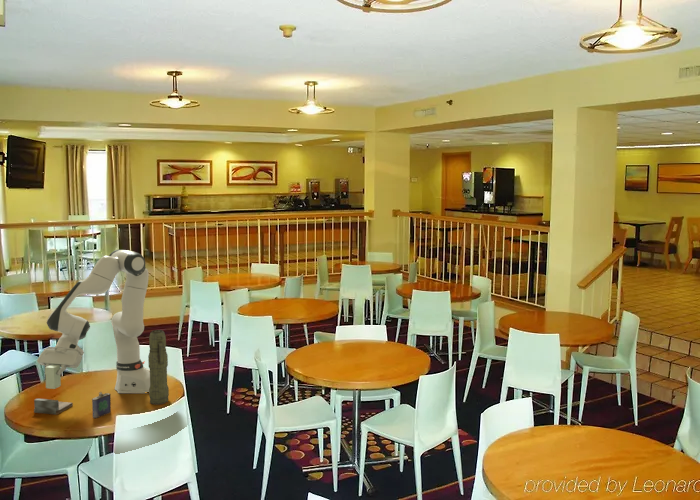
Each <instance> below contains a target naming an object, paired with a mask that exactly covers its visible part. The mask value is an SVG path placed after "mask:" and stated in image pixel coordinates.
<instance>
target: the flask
mask: <svg viewBox="0 0 700 500" xmlns="http://www.w3.org/2000/svg"><path fill="white" fill-rule="evenodd" d="M91 400H92V401H91V403H92V405H91V406H92V419H98V418H101V417H103V416H106V415H108V414H111V413H112V412H111V411H112V409H111V406H112V405H111V404H112V403H111V393H109V392H107V393H106V392H105V393H102V391H100V392H98V396H95V397H93V398H92V399H91Z"/></svg>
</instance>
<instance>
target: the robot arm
mask: <svg viewBox="0 0 700 500" xmlns="http://www.w3.org/2000/svg"><path fill="white" fill-rule="evenodd" d="M145 259H146V258H145V257H144V255H142V254H141V253H139V252H136V251H133V250H129V249H127V250H126V249H123V248H122V249H115V250H113V251H112V252H110V253H109V255H103V256H101V257H100V258H99V259H98V260H97V262H96V263H95V265H94V266H93V268H92V269H91V271H90V273H89V275H88V276H87V277H86V278H84V279H83V280H78V281H77V282H76V283H75V284H74V285H73V287H72V288H71V289H70V290H69V292H68V293H67V294H66V295H65V297H64V298H63V299H62V300H61V302H60V303H59V304H58V306H57V307H56V308H55V309H54V310H53V311H51V313H50V314H49V315H48V317H47V320H46V325H47V327H48V328H49V330H50V331H55V332H59V333H61V334H62V335H61V336H60V337H59V338H58V341H57V343H56V345H55V346H48V347H46V348H44V349H43V351H42V352H41V353H40V355H39V356H38V358H37V360H36V361H37V363H38V364H39V365H40V366H45V367H47V366H49V365H60V370H57V372H56V374H57V375H60V376H61V374H62V373H63V372H64V371H65V370H67V369H68V368H70V369H77V368H78V367H80V364H81V363H82V360H83V355H84V353H85V352H84V350H83V349H82V348H81V347H80V346H79V342H80V341H81V340H83V339H85V338H86V336H87V334H88V331H89V330H90V329H91V325H90V322H89V321H88V319H86V318H84V317H82V316H79V315H76V314H72V313H70V312H68V311H67V309H68V308H69V307H70V305H71V304H72V303H73V302H74V300H75V299H77V297H78V296H81V295H93V296H94V295H102V294H105V293H106V292H107V291H108V290H109V289H110V288H111V286H112V284H113V283H114V280H115V278H116V276H117V275H118V274H119V273H120V272H123V273H125V276H126V279H125V282H124V288H123V291H122V295H121V311H117V312H116V313H114V314H113V315H112V316H111V321H110V322H111V325H112V329H113V335H114V341H115V346H116V362H115V365H116V367H115V368H116V380H115V381H116V382H115V386H114V390H115V391H116V392H117V394H146V393H145V392H149V388H150V370H149V369H147V368H145V367H144V364H145V363H146V361H145V360H144V361H142V360H141V352H140V349H141V348H140V343H139V340H138V337H139V336H141V335H142V334H143V332H144V330H145V323H144V308H145V298H146V295H147V290H148V287H149V286H148V285H149V277H150V275H149V274H150V273H149V270H148V268H146V260H145Z"/></svg>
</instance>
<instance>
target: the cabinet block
mask: <svg viewBox="0 0 700 500" xmlns="http://www.w3.org/2000/svg"><path fill="white" fill-rule="evenodd" d="M44 369H45V370H44V374H45V388H46V389H48V390H49V389H51V390H52V389H53V390H55V389H57V388H59V387H61V386H62V385H61V384H62V382H61V381H62V380H61V375H57V374H56V372H57V370H60V369H61V367H60V365H49V366H47V367H46V366H45V367H44Z"/></svg>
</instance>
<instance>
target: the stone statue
mask: <svg viewBox="0 0 700 500" xmlns="http://www.w3.org/2000/svg"><path fill="white" fill-rule="evenodd" d="M148 336H149V337H148V340H149V342H148V343H149V345H148V346H149V353H148V360H147V361H148V368H149V371H150V388H149V393H148V395H149V396H148V397H149V404H151V405H164V404H167V403H168V402H169V401H168V400H169V394H170V393H169V390H170V389H169V388H170V387H169V386H168V369H167V368H168V365H169V363H168V362H169V361H168V358H169V356H168V353H167V339H166V338H167V337H166V334H165V331H164V330H162V329H154V330H152V331H151V332H150V334H149V335H148ZM166 402H167V403H166Z"/></svg>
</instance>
